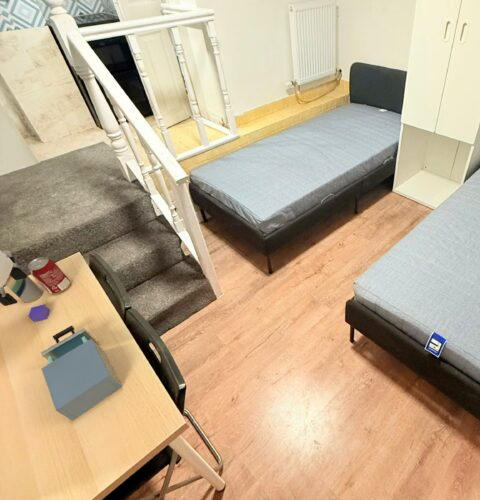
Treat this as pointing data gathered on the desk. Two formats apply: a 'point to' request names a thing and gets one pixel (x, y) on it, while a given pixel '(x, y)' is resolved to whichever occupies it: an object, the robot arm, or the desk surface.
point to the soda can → (48, 275)
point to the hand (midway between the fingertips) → (16, 290)
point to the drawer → (66, 343)
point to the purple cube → (38, 313)
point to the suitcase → (80, 380)
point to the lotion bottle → (24, 289)
